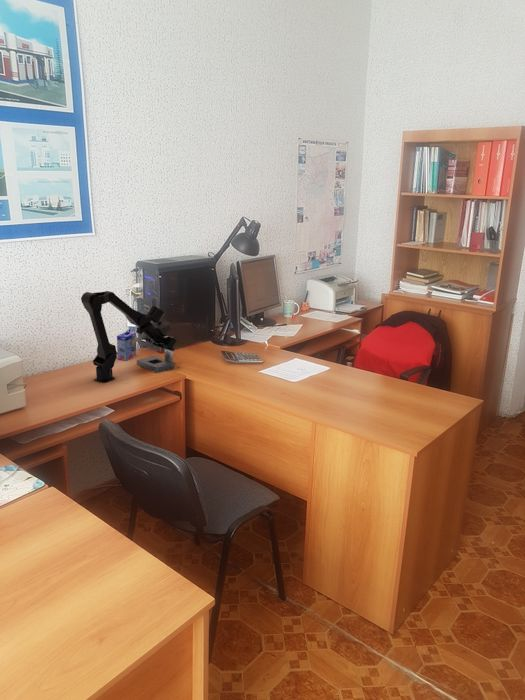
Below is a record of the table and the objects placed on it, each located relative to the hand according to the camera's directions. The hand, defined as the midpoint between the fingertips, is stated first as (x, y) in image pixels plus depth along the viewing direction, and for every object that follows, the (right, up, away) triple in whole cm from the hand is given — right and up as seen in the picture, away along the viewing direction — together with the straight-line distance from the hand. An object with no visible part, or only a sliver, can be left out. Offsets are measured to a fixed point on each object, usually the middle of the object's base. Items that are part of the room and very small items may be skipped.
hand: (171, 349), depth 268 cm
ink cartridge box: (-23, -4, +8) cm, 25 cm away
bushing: (-1, -7, +1) cm, 7 cm away
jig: (-7, -8, -5) cm, 11 cm away
